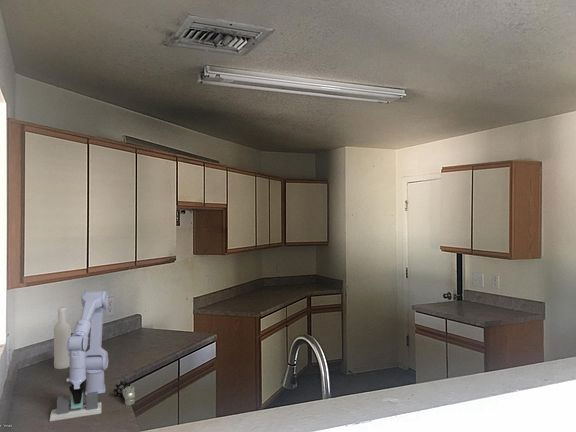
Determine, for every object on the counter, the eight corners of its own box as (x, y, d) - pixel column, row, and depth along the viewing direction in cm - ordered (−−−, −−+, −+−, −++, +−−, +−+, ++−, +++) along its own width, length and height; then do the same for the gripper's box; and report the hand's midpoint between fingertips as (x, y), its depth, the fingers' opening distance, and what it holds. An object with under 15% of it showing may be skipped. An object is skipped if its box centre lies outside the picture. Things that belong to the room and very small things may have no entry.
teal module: (72, 404, 181) (71, 388, 180) (83, 402, 182) (82, 386, 182) (71, 409, 176) (70, 392, 176) (82, 407, 178) (82, 390, 178)
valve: (139, 403, 188) (128, 394, 197) (139, 387, 188) (128, 379, 197) (123, 407, 184) (113, 398, 193) (123, 391, 184) (113, 382, 193)
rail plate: (52, 411, 180) (52, 395, 180) (101, 404, 187) (101, 388, 187) (49, 421, 172) (49, 404, 172) (101, 413, 178) (101, 397, 178)
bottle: (74, 363, 236) (73, 306, 236) (67, 369, 228) (66, 309, 228) (58, 364, 236) (57, 306, 236) (51, 369, 228) (50, 309, 228)
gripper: (67, 362, 184) (68, 395, 185) (64, 373, 171) (65, 409, 171) (86, 359, 187) (87, 392, 187) (85, 371, 174) (85, 406, 174)
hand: (77, 400), depth 179 cm, fingers closed on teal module, 4 cm apart
